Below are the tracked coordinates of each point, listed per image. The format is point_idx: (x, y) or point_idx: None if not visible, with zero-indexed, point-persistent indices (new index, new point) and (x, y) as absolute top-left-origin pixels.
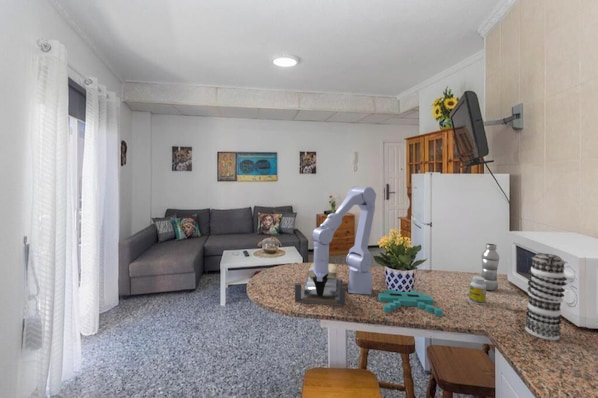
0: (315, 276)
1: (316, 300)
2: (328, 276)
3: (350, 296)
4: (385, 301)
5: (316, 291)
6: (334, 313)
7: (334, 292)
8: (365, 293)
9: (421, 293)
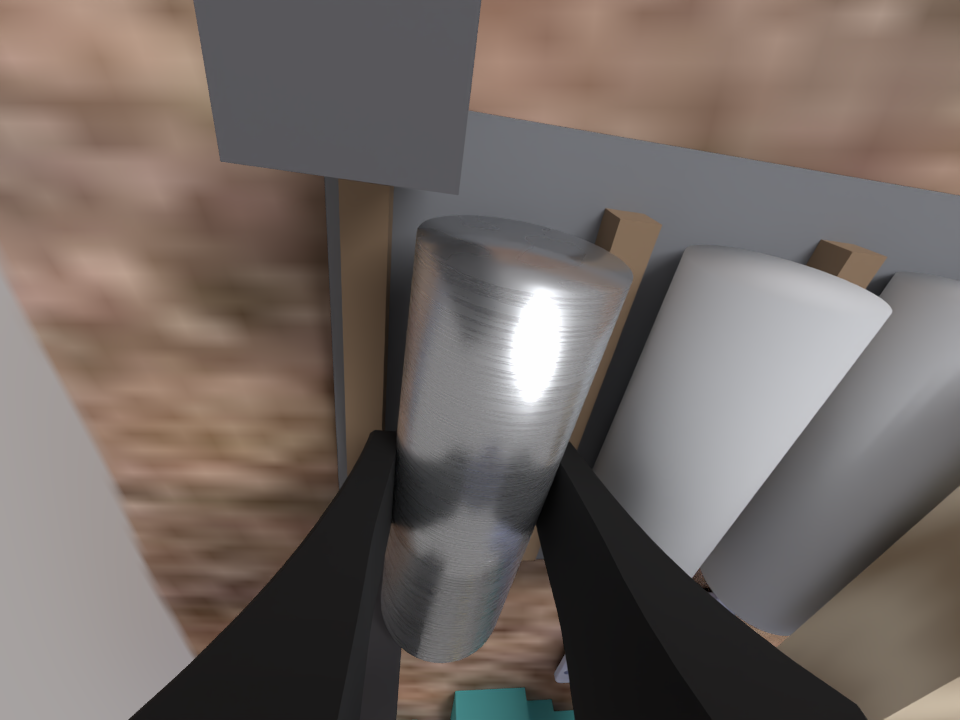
0: (673, 674)
1: (345, 381)
2: (849, 622)
3: (537, 595)
4: (453, 707)
5: (352, 469)
6: (150, 506)
7: (386, 620)
8: (563, 663)
9: None
